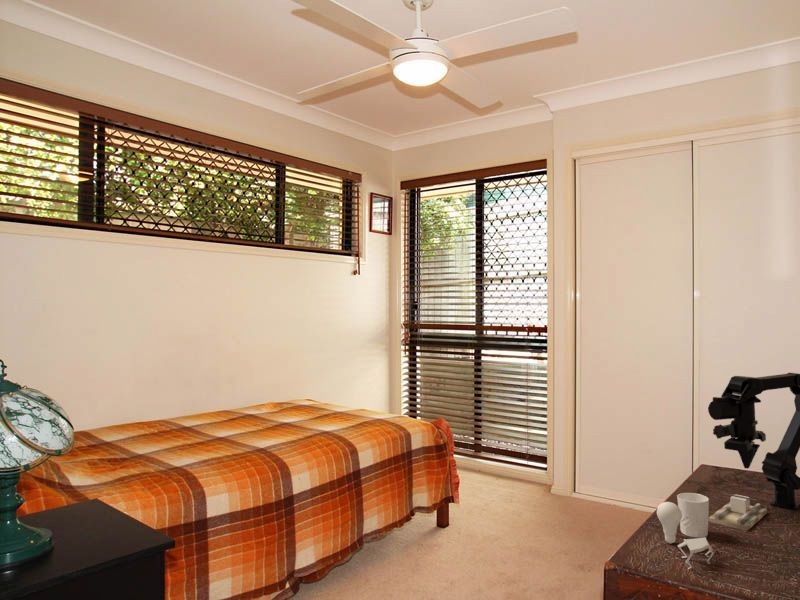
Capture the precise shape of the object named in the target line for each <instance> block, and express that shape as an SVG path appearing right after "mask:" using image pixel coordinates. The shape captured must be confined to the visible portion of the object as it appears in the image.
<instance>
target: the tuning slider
mask: <svg viewBox="0 0 800 600" xmlns="http://www.w3.org/2000/svg"><path fill="white" fill-rule="evenodd" d="M722 495H725V496H729V497H730V499H729V502H730V504H731V511H733V512H738V513H742V514H745V513H746V512H747V511H748V510H750V506H751V501H755V502H758V499H755V498H751V497H750V496H745V495H740V494H730V493H727V492H726V493H725V492H722Z"/></svg>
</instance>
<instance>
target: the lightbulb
mask: <svg viewBox="0 0 800 600" xmlns="http://www.w3.org/2000/svg"><path fill="white" fill-rule="evenodd" d="M656 516H657V518H658V519H659V522H660V523H661V525H662V530H663V534H664V538H665V539H664V540H665V542H667V543H668V544H675V542H676V537H677V536H676V535H677V528H678V526H679V525H680V521H681V518H682V513H681V510H680V509H679V507H678V504H675V503H674V502H671V501H663V502H661V503H660V504H659V505H658V507H657V508H656Z"/></svg>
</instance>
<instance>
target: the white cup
mask: <svg viewBox="0 0 800 600" xmlns="http://www.w3.org/2000/svg"><path fill="white" fill-rule="evenodd" d="M676 497H677V498H676V499H677V500H676V501H677V506H678V507H679V509H680V510H681V513H682V518H681V521H680V523H679V526H680V528H679V529H680V532H681V533H682V534H683V535H685V536H687V537H691V538H704V537H706V538H707V537H708V534H709V517H710V515H709V509H710V508H709V506H710V503H709V501H710V499H709V498H708V496H706V495H703V494H701V493H694V492H683V493H679V494H677V495H676Z"/></svg>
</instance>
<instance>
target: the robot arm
mask: <svg viewBox="0 0 800 600" xmlns="http://www.w3.org/2000/svg"><path fill="white" fill-rule="evenodd" d="M786 388H789V391H790V393H792V394H793V395H794V400H793V401H794V407H795V412H794V414H793V416H792V418H791V420H790V422H789V424H788V426H787V428H786V431H785V432H784V435H783V437H782V439H781V440H780V441H781V442H780V444H779V445H778V448H777V450H776V451H774V452H768V451H767V452H766V454H765V456H764V457H765V458H764V459H763V461H762V462H761V464H762V466H761V471H762V473H763V475H764V476H765V479H766V481H767V482H768V483H771V484H773V500H772V501H771V502H770V505H771V506H776V507H780V508H785V509H790V510H796V509H797V508H798V507H799V506H800V502H798V501H797V491H799V490H800V477H799V476H798V475H797V474H796V473H797V470H798V465H797V460H796V458H797V456H798V452H799V451H800V373H797V372H796V373H795V372H787V373H782V374H773V375H765V376H758V377H753V376H744V375H734V376H731V378H730V379H729V382H728V384H727V385H726V387H725V389H724V390H723V392H722V393H721V395H720V396H721V397H720V396H719V397H718V396H713V397H712V401H711V402H710V403H709V405H708V407H707V412H708V414H709V416H710V417H711V418H712V419H713V420H715V421H721V420H731V421H730V423H729V424H724V425H722V424H719V425H714V427H713V428H712V430H713V431H712V435H714V436H716V438H717V440H718V439H722V438H726V437H730V438H728V439H727V440H725V441H724V443H723V444H724V447H723V448H724V449H725V450H729V451H737V452H738V454H739V457H740V460H741V462H742V465H743V468H744V469H749V468H750V467H751V465H752V463H753V461H754V458H755V456H756V454H757V452H758V450H759V448H760V446H761V445H760V444H759V443H758V444H757V443H755V440H760V442H763V443H764V442H766V441H767V437H766V436H767V435H766V433H765V432H764V431H762V430H757V427H756V425H758V424H759V423H758V420H756V408H755V407H756V406H755V404H756V403H757V404H758V403H762V399H759V398H758V397H757V396H758V395H760V394H762V393H763V392H765V391H770V390H771V391H772V390H778V389H786ZM732 419H733V420H732Z"/></svg>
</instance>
